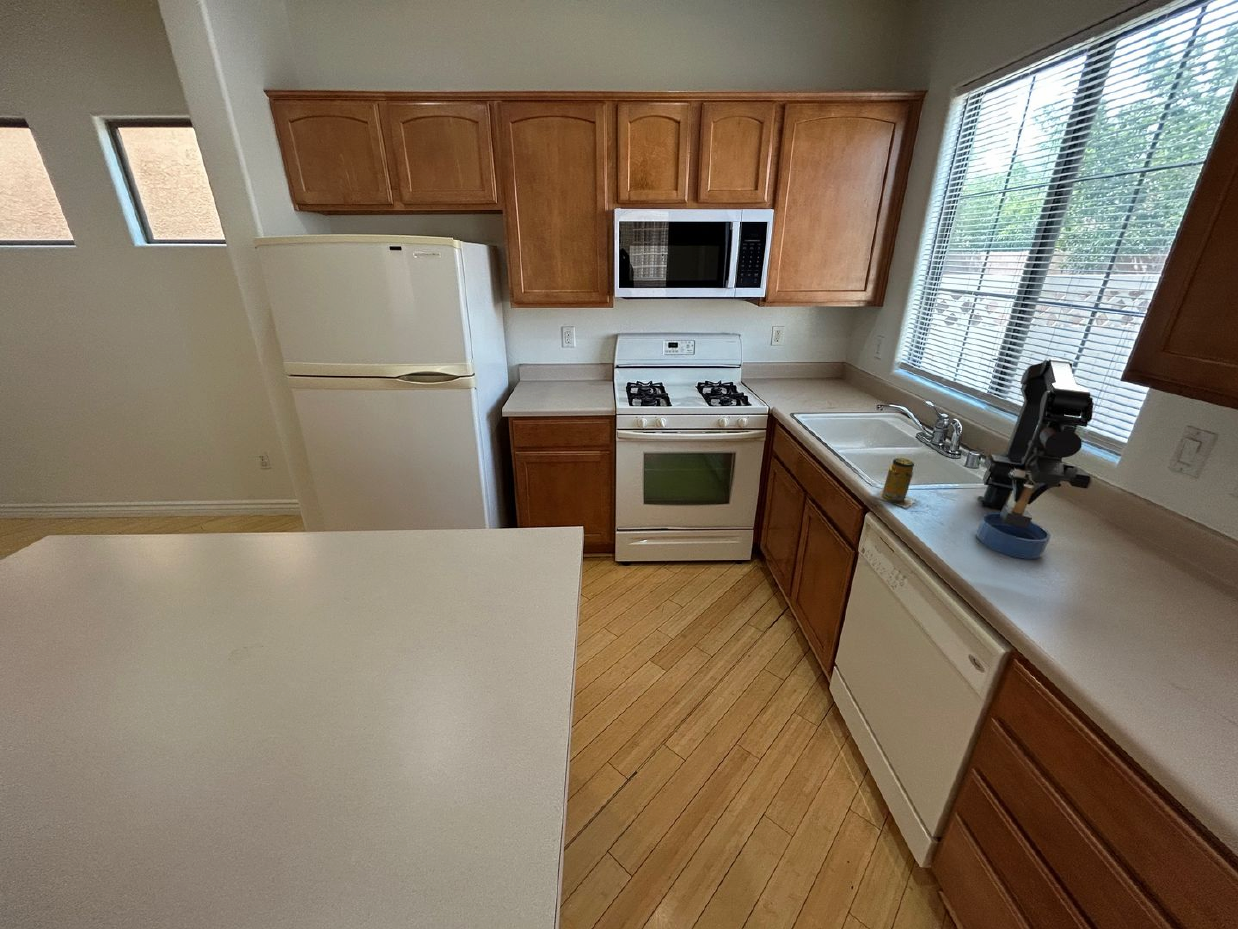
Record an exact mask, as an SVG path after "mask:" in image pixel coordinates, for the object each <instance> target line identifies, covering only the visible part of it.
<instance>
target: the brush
mask: <svg viewBox="0 0 1238 929" xmlns="http://www.w3.org/2000/svg"><path fill="white" fill-rule="evenodd" d="M1034 488H1035V487H1034V486H1033V485H1031V484H1029V483H1026V484H1024V485H1023V488H1022V491H1021V494H1020V497H1019V499H1018V501H1017V502H1015V501H1014V505H1013V507H1012V506H1008V507H1007V506H1004V507H1003V509H1002V510H1000V513H1001V514H1000V518H1001V520H1002V522H1003V523H1004V524H1008V525H1013V526H1018V527H1023V528H1028V526H1029V524H1030V522H1031V521H1032V519H1033V517H1032V515H1031V514H1030V512H1029V511H1028V510H1026V509H1027V506H1028V505H1029V504H1028V502H1029V500H1030V497H1031V495H1032V493H1033V491H1034Z"/></svg>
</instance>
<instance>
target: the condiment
mask: <svg viewBox="0 0 1238 929" xmlns="http://www.w3.org/2000/svg"><path fill="white" fill-rule="evenodd" d="M914 466H915V463H914V462H913V461H912V460H910V459H907V458H903V457H897V458H894V459H893V460H892V464H891V466H890V467H889V468H888V471H887V475H886V479H885V481H884V486H883V489H882V493H880V494H878V495H876V496H875V498H878V499H879V500H883V501H884V502H888V503H890V504H894V505H896V506H899V507H903V508H905V509H907V508H909V507H911V506H912V505H913V504H915V503H916V502H917V500H914V499H912V498H909V497H907V494H908V491H909V487H910V484H911V481H912V478H913V474H914V472H913V471H914Z"/></svg>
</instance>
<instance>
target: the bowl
mask: <svg viewBox="0 0 1238 929" xmlns="http://www.w3.org/2000/svg"><path fill="white" fill-rule="evenodd" d="M1000 514H1001V512H988V513H985V514H983V516H982V518H981V521H980V524H979V526H978V528H977V531H976V533H975V534H976V538H977V539H978V540H979V541H980V542H981V543H982V544H984V545H986V546H987V547H989V548H990V549H992V550H994V551H996V552H999V553H1002V554H1005V555H1006V556H1010V557H1015V558H1020V559H1029V560H1030V559H1038V558H1040V557H1042V556H1043V554H1044V552H1045V549H1046V547H1047V545H1048V544H1049V541H1050V540H1051V533H1050V532H1049V530H1047V529H1046V528H1044V527H1043V526H1042V525H1040V524H1038V523H1037V522H1034V521H1033V520H1031V522H1030V524H1029V526H1028V528H1023V527H1018V526H1013V525H1008V524H1004V523H1003V522H1002V520H1001V518H1000Z"/></svg>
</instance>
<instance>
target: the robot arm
mask: <svg viewBox="0 0 1238 929" xmlns="http://www.w3.org/2000/svg"><path fill="white" fill-rule="evenodd" d="M1072 368H1073V362H1072V361H1070V360H1068V359H1059V358H1058V359H1056V358H1049V359H1047V358H1046V359H1044V360H1043V362H1040V363H1039V362H1038V363H1035V364H1031V365H1029V367H1028V368H1027V369H1026V370H1025V371H1024V372H1023V374H1022V376H1021V379H1020V385H1021V387H1020V392H1021V395H1022V398H1023V402H1022V406H1021V409H1020V411H1019V414H1018V417H1017V420H1016V422H1015V425H1014V428H1013V430H1012V433H1011V435H1010V438H1009V441H1008V444H1007V447H1006V449H1005V451H1004V452H1003V453H1001V454H1000V455H999V454H993V453H992V454H991V453H990V454H989V455H987V456H986V457H985V459H984V462H983V464H984V466H985V468H986V470H985V472H984V474H983V478H982V482H983V485H984V486H987V487H986V489H985V492H984V495H983V496H981V495H978V497H977V499H978V501H979V502H980V504H981V506H982V507H983V508H988V509H994V510H997V511H998V510H999V511H1002V509H1003V507H1004V506H1007V507H1009V505H1008V503H1009V501H1010V498H1011V496H1012V493H1013V501H1014V503H1015V502H1017V501H1018V499H1019V497H1020V494H1021V491H1022V488H1023V485H1024V484H1028V482H1029V481H1030V478H1031V481H1032V482H1034V483H1033V485H1032V486H1034V487H1035V488H1034V491H1033V493H1032V495H1031V497H1030V500H1029V502H1028V504H1027V505H1029V506H1030V505H1031V504H1032V503H1033V502H1035V501H1036V500H1037V499H1038V498H1039V497H1040V496H1041V495H1042V494H1044V493H1045V492H1046V491H1048V490H1049V489H1052V488H1060V487H1062V484H1061V482H1065V483H1069V485H1070V486H1071V487H1074V488H1079V489H1086V490H1087V489H1089V488H1090V486H1091V485H1092V483H1093V478H1092V476H1091V475H1090V474H1089V473H1088V472H1087V471H1086V470H1085V469H1084V468H1080V467H1078V466H1077V465H1073V464H1066V463H1063V459H1064V458H1069V457H1072V456H1074V455H1076V454H1077V453H1079V452H1080V451H1081V449H1082V446H1083V442H1082V438H1081V437H1080V436H1079V435H1078V433H1077V432H1076V431H1077V427H1084V428H1087V427H1088V425H1089V423H1090V422H1091V421H1092V419H1093V412H1094V401H1093V400H1094V398H1093V396H1092V394H1091V391H1090V390H1088V389H1087V387H1084V386H1082V385H1079V384H1077V382H1076V379H1075V376H1074V372H1073V369H1072ZM1030 475H1031V477H1030Z"/></svg>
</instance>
